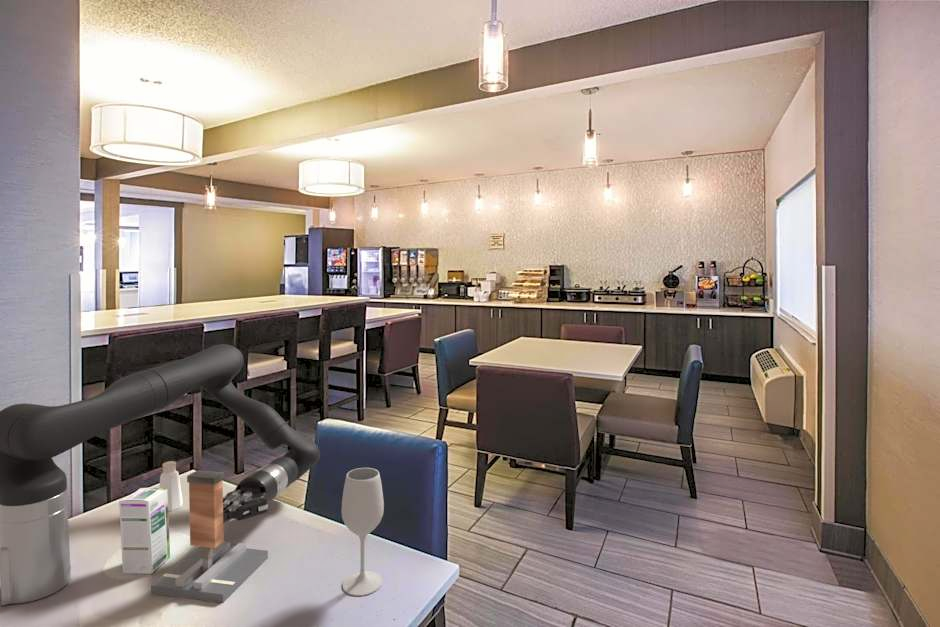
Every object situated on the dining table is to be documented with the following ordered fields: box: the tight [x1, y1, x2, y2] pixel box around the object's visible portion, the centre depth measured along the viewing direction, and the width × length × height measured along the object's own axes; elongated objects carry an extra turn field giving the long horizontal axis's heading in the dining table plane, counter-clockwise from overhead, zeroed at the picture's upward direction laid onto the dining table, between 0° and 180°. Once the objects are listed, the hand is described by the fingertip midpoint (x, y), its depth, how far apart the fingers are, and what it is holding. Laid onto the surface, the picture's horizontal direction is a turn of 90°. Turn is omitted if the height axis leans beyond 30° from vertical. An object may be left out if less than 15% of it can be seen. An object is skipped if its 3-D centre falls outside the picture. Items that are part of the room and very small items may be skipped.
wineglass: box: [341, 467, 385, 597], centre depth 91 cm, size 8×8×21 cm
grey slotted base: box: [150, 540, 269, 604], centre depth 94 cm, size 14×14×3 cm
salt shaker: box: [158, 460, 184, 512], centre depth 120 cm, size 5×5×11 cm
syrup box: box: [119, 487, 171, 575], centre depth 96 cm, size 6×6×14 cm
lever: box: [186, 469, 225, 572], centre depth 91 cm, size 3×5×18 cm, turn 81°
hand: (211, 524), depth 93 cm, fingers closed
